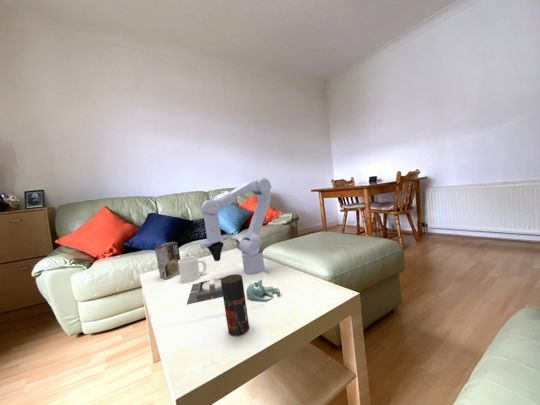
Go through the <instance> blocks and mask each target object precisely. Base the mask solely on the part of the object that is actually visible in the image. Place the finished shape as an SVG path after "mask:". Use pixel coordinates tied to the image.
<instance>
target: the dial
mask: <svg viewBox="0 0 540 405" xmlns="http://www.w3.org/2000/svg"><path fill="white" fill-rule="evenodd" d="M209 280H210V281H208V280H206V281H207V282H205V283H204V284H203V285H202V288H203V292H207V291H210V292H213V291H215V290H216V289H221V288H222V286H221V280H220V279H218V278H215V277H210V278H209Z"/></svg>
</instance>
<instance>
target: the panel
mask: <svg viewBox="0 0 540 405" xmlns="http://www.w3.org/2000/svg"><path fill="white" fill-rule="evenodd" d="M224 277H225V276H224ZM224 277H219V278H217V279H220V280H221V279H222V278H224ZM207 281H210V279H208V280H204V281H200V282H197V283H193V284H192V286H191V289H190V291H189V295H188V298H187V302H186V305H187V306H188V305H190V304H191V305H192V304H197V303H202V302H205V301H211V300H215V299H219V298H223V292H222V288H221V289H216V290H215V291H213V292H210V291H207V292H203V288H202V285H203V284H204V283H205V282H207Z"/></svg>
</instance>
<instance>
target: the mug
mask: <svg viewBox="0 0 540 405" xmlns="http://www.w3.org/2000/svg"><path fill="white" fill-rule="evenodd" d="M180 259H181V260H179V261H178V264H179V271H180V274H179V276H180V281H181V283H186V284H187V283H192V282H195V281H198V280H199V279H201V278H200V277H201V276H202V275H203V274H205V273H206V271H207V263H206V262H205V260H203V259H201V258H199V259H198V257H197V256H192V255H191V256H187V257H183V258H180ZM199 263H201V264H202V265H203V269H202V270H201V271H200V268H199V267H200V266H199Z"/></svg>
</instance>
